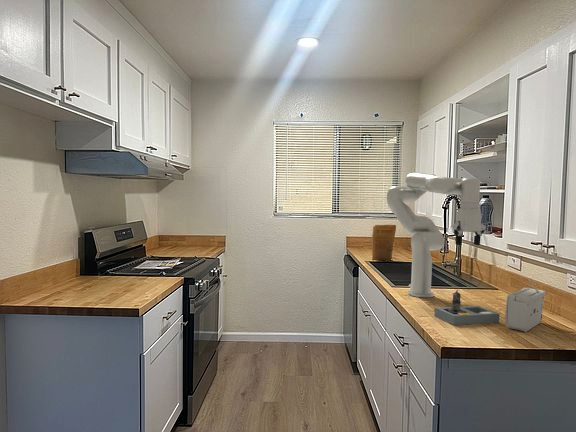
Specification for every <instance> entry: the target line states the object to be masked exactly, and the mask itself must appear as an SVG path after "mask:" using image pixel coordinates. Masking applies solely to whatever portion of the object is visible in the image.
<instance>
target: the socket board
mask: <svg viewBox="0 0 576 432" xmlns="http://www.w3.org/2000/svg"><path fill="white" fill-rule="evenodd" d="M451 308H452V306H441V307H440V306H439V307H434V318H435V317H436V318H438V319H440V320H442V321H444V322H446V323H448V324H451V325H452V326H460V325H462V326H463V325H478V324H479V325H481V324H494V323H497V324H498V323H500V316H501V315H500V313H499V312H496V311H493V310H491V309H488V308H486V307H483V306H481V305H463V306H461V305H460V309H461V310H462V311H464V313H458V314H452V313H450V312H449V311H448V310H449V309H451Z"/></svg>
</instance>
